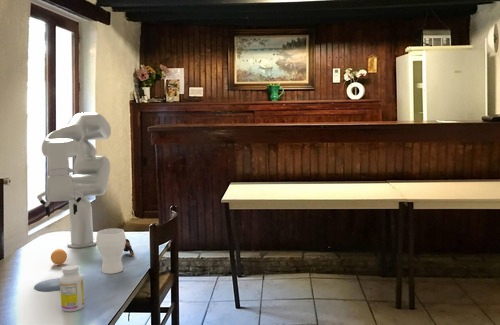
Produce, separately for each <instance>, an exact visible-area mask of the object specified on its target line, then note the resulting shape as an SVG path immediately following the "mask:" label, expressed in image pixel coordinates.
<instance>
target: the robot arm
mask: <svg viewBox="0 0 500 325" xmlns="http://www.w3.org/2000/svg"><path fill="white" fill-rule="evenodd" d="M111 128H112V127H111V124H110V123H109V122H108V120H107V119H106V118H105V117H104V116H103V115H102V114H101V113H98V112H84V113H83V112H81V113H80V112H78V113H76V114H74V115H73V116H71V119H70V120H69V122H68V123H67V124H66V125H65V126H63V127H60V128H58V129H56V130H53V131H52V132H50V133H49V134H47V135H46V137H45V138H44V140H43V142H42V144H41V152H42V155H43V156H44V157H46V158H47V161H48V175H47V178H46V191H43V192H41V193H40V194H38V195H37V196H36V198H37V199H38V201H39V202H40V204H41V205H43V206H44V207H45V215H47V218H48V217H51V208H50V207H51V206H50V204H51V203H52V202H53V203H54V202H66V201H68V208H69V210H68V211H69V226H70V228H69V229H70V241H68V242H67V246H68V247H69V248H73V249H79V248H89V247H93V246H95V245H97V244H96V238H94V229H93V227H94V224H93V208H92V203H91V202H90V200H89V198H88V197H89V196H90V197H91V196H103V195H104V194H106V192H107V189H108V182H109V178H110V171H111V163H110V159H109V158H108V157H107V156H105V155H97V149H96V147H95V146H94V145H93V144H92V143H91V142H90V141H92V140H98V141H99V140H107V139H109V138H110V137H111V134H112V129H111ZM89 140H90V141H89ZM74 157H75V160H74V164H73V168H70V163H69V158H74ZM71 173H74V174H71ZM45 196H46V200H47V201H45V200H44V199H43V197H45Z"/></svg>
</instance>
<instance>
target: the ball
mask: <svg viewBox="0 0 500 325" xmlns="http://www.w3.org/2000/svg"><path fill="white" fill-rule="evenodd" d="M67 258H68V253H67V252H66V250H64V249H62V248H57V249H55V250H53V251H52V253H51V254H50V260H51V262H52V263H53V264H54V265H57V266H59V265H60V266H61V265H63V264H64V263H66V261H67Z"/></svg>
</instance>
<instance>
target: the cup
mask: <svg viewBox="0 0 500 325" xmlns="http://www.w3.org/2000/svg"><path fill="white" fill-rule="evenodd" d="M95 239H96V244H95V245H96V248H97V251H98V252H99V254H100V256H101V259H102V260H101V261H102V266H101V273H102V274H110V275H111V274H117V273H121V272H122V271H123V270H124V266H123V262H122V257H123V256H122V255H123V252H124V248H125V244H126V239H127V237H126V234H125V230H124V229H122V228H104V229H101V230H98V231H97V234H96V237H95Z"/></svg>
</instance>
